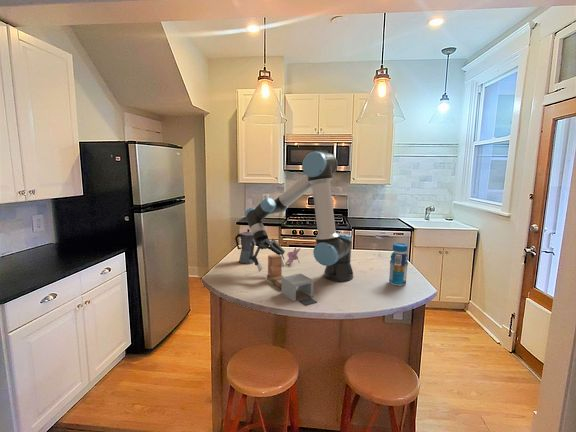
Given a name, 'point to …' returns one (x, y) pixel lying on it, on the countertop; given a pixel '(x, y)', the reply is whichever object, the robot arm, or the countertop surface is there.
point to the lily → (293, 256)
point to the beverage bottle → (398, 264)
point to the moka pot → (245, 246)
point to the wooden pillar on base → (275, 269)
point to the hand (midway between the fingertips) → (272, 268)
